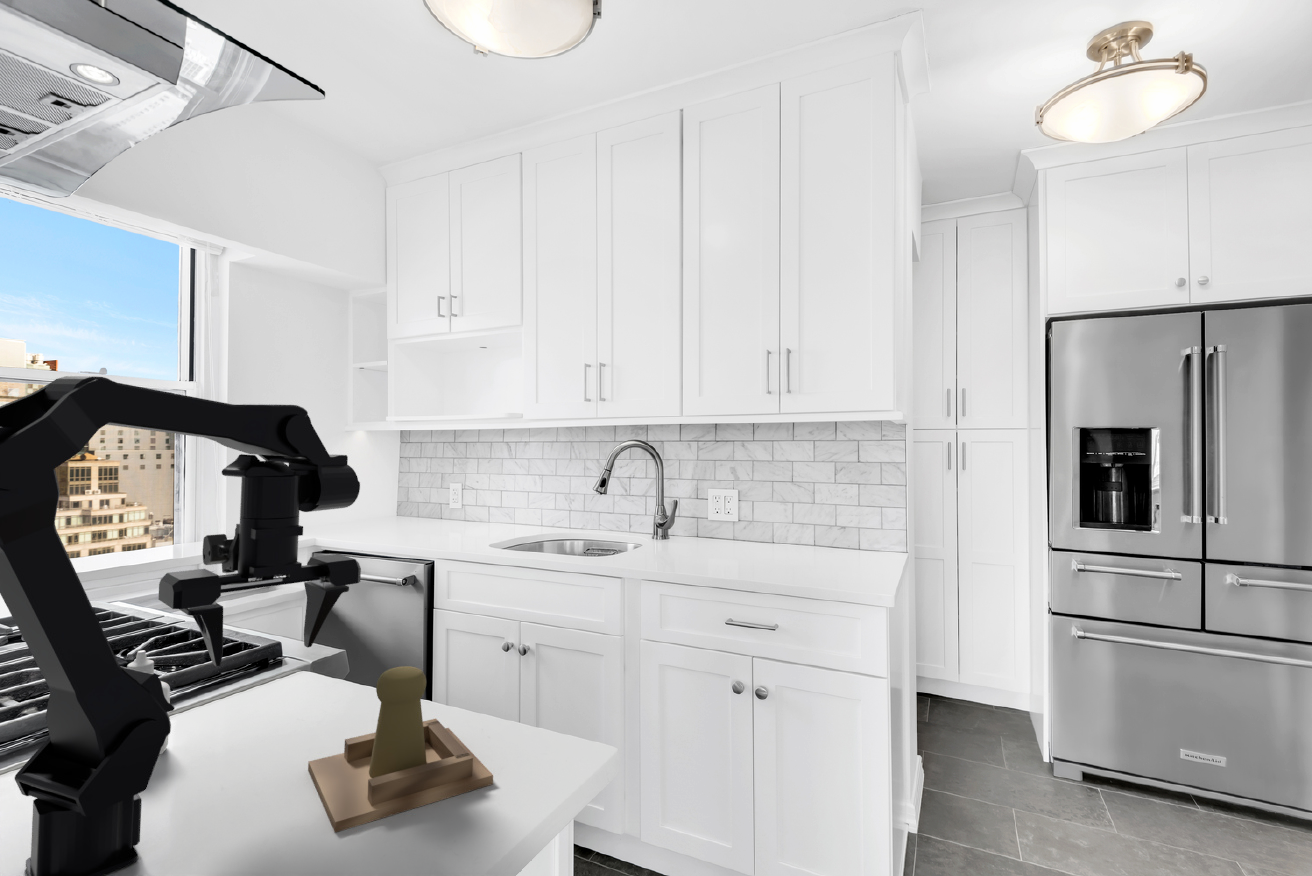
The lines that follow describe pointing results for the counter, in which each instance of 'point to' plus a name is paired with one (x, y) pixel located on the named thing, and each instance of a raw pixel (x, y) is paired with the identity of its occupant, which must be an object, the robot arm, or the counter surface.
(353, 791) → the seat
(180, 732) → the counter surface
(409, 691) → the olive pepper mill
